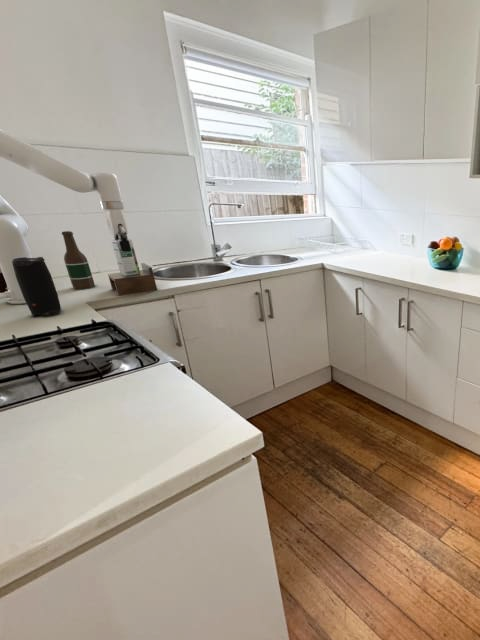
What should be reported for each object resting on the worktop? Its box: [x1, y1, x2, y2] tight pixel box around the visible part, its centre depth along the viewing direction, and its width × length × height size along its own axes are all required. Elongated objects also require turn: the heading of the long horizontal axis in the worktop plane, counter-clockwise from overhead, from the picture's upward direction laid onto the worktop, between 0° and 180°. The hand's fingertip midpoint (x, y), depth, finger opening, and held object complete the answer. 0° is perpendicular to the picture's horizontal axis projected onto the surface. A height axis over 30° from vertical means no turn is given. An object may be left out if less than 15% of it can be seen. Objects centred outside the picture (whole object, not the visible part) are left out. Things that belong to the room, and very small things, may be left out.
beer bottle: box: [61, 230, 96, 290], centre depth 164 cm, size 8×8×24 cm
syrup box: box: [111, 238, 141, 276], centre depth 162 cm, size 6×6×14 cm
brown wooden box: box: [107, 262, 158, 296], centre depth 165 cm, size 14×13×10 cm
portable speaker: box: [12, 256, 62, 318], centre depth 131 cm, size 9×9×20 cm
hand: (124, 249), depth 160 cm, fingers open, 8 cm apart
